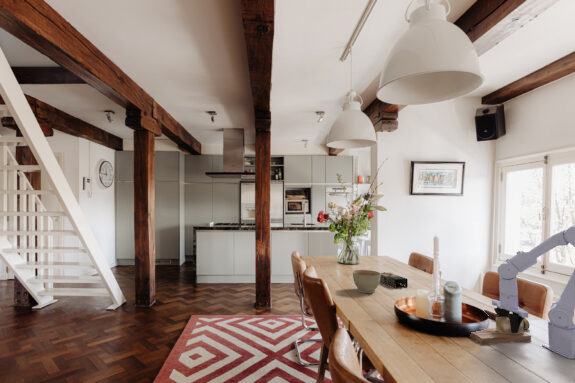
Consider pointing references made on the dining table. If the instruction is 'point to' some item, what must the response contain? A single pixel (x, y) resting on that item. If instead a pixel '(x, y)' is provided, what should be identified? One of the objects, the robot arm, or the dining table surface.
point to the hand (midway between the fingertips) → (509, 330)
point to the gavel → (493, 316)
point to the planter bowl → (366, 280)
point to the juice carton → (393, 279)
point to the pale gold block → (506, 326)
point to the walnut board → (498, 336)
